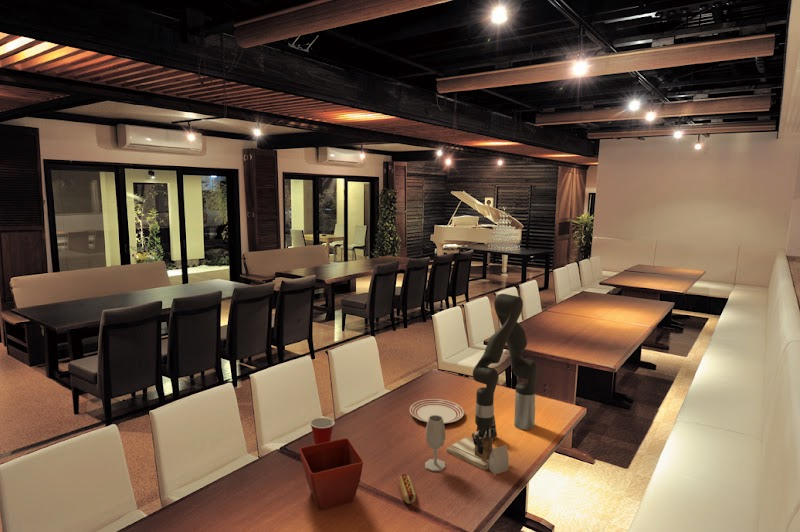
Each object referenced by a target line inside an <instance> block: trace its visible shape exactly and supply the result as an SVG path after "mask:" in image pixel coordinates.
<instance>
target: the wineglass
mask: <svg viewBox="0 0 800 532" xmlns="http://www.w3.org/2000/svg"><path fill="white" fill-rule="evenodd" d="M425 439H426V443H427V446H428V447H429V448H431V449H432V450H433V458H429V459H428V460H427V461H425V462H424V468H425V469H426V470H428V471H430V472H442V471H443V470H444V469H446V462H445V461H443V460H442V459H439V458H438V450H439V449H440V448H442V447H443V446H444V444H445V440H446V428H445V424H444V421H443V417H442V416H439V415H432V416H430V417H429V418H428V421H427V422H426V427H425Z"/></svg>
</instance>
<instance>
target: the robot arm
mask: <svg viewBox="0 0 800 532" xmlns="http://www.w3.org/2000/svg"><path fill="white" fill-rule="evenodd" d="M493 305H494V307H493V308H494V311H495V314H496V317H497V318H498V320H499V323H500V325H501V327H500V328H499V329H498V330H497V331H495V333H493V334H492V335H491V336H490V338H489V339H488V342H487V344H486V346H485V349H484V352H483V355H482V356H481V357H480V359H479V360H478V362H477V363H476V364H475V366H474V368H473V369H472V378H473V380H474V382H477V383H479V384H484V385H486V387H485V386H483V387H479V388H477V390H476V395H475V396H476V397H475V399H476V401H475V409H474V410H475V412H474V413H475V414H474V415H475V416H474V417H475V418H474V424H475V425H476V430H475V432H472V433H471V437H472V438H471V439H473V442H474V445H476V446H478V450H477V452H478V454H481V455H482V454H483V441H485V437H489V438H492V439H493V437H494V432H495V427H496V428H497V426H496V425H497V424H496V425H493V421H494V416H495V414H494V413H495V412H494V411H495V410H494V409H495V408H494V407H495V406H494V400H495V399H494V397H495V392H496V388H497V384H498V381H499V377H500V376H499V372H498V370H496V369H495V368H493V367H489V366H490V365H492V364H499V363H500V362H501V358H502V355H503V352H504V351H505V350H504V349H505V348H506V346H507V349H508V352H509V353H508V354H509V357H510V363H511V368H512V373H513V374H514V376H515V377H517V378H521V379H526V380H527V381H525V382H524V381H523V382H519V383H517V384H516V385H515V394H514V396H515V398H514V399H515V400H514V401H515V402H514V423H513V425H514V426H515V427H516V428H517V429H519V430H525V431H527V430H528V431H529V430H532V429H534V427H535V420H536V388H537V378H538V369H539V368H538V367H539V366H538V362H537V361H536V360H533V359H528V358H524V357H522V356H521V354H522V353H523V352H524V350H525V349H526V348H527V345H528V339H527V336H526V331H525V329H524V328H523V326H521V324H520V323H519V322H518V320H519V318H520V316H521V314H522V312H523V307H524V301H523V298H521V297H520V296H517V295H513V294H508V293H499V294H497V295H496V296H495V298H494V303H493ZM491 433H492V434H491ZM480 437H482V438H483V439H482V438H480ZM480 440H481V443H480Z"/></svg>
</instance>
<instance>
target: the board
mask: <svg viewBox="0 0 800 532" xmlns="http://www.w3.org/2000/svg"><path fill="white" fill-rule="evenodd" d="M474 448H475V445H474V442H473V438H470V437H468V436H466V437H464V438H462V439H460V440H458V441H457V442H455V443H453V444H451V445H449V446H447V447H446V453H447V452H448V453H447V454H449V453H450V454H449V455H451V454H452V456H453V455H454V457H455V456H456V458H458V459H459V460H461V461H464V462H466V463H468V464H470V465H472V466H474V467H476V468H478V469H481V470H483V471H487V470H489V459H487V460H485V459H483V458H481V457H479V456H477V455H475V450H474ZM492 449H493V447H492Z"/></svg>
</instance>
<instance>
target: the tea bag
mask: <svg viewBox="0 0 800 532" xmlns="http://www.w3.org/2000/svg"><path fill="white" fill-rule="evenodd" d="M492 448H493V447H492ZM509 459H510V458H509V453H508V448H507V444H505V445H500V446H498V447H494V448H493V449H492V452H491V454H490V458H489V468H488V470H489V471H490V472H491V473H492V474H493V473H494V474H493V475H498V474H501V472H502V473H505V472H507V471H509V461H510V460H509Z"/></svg>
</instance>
